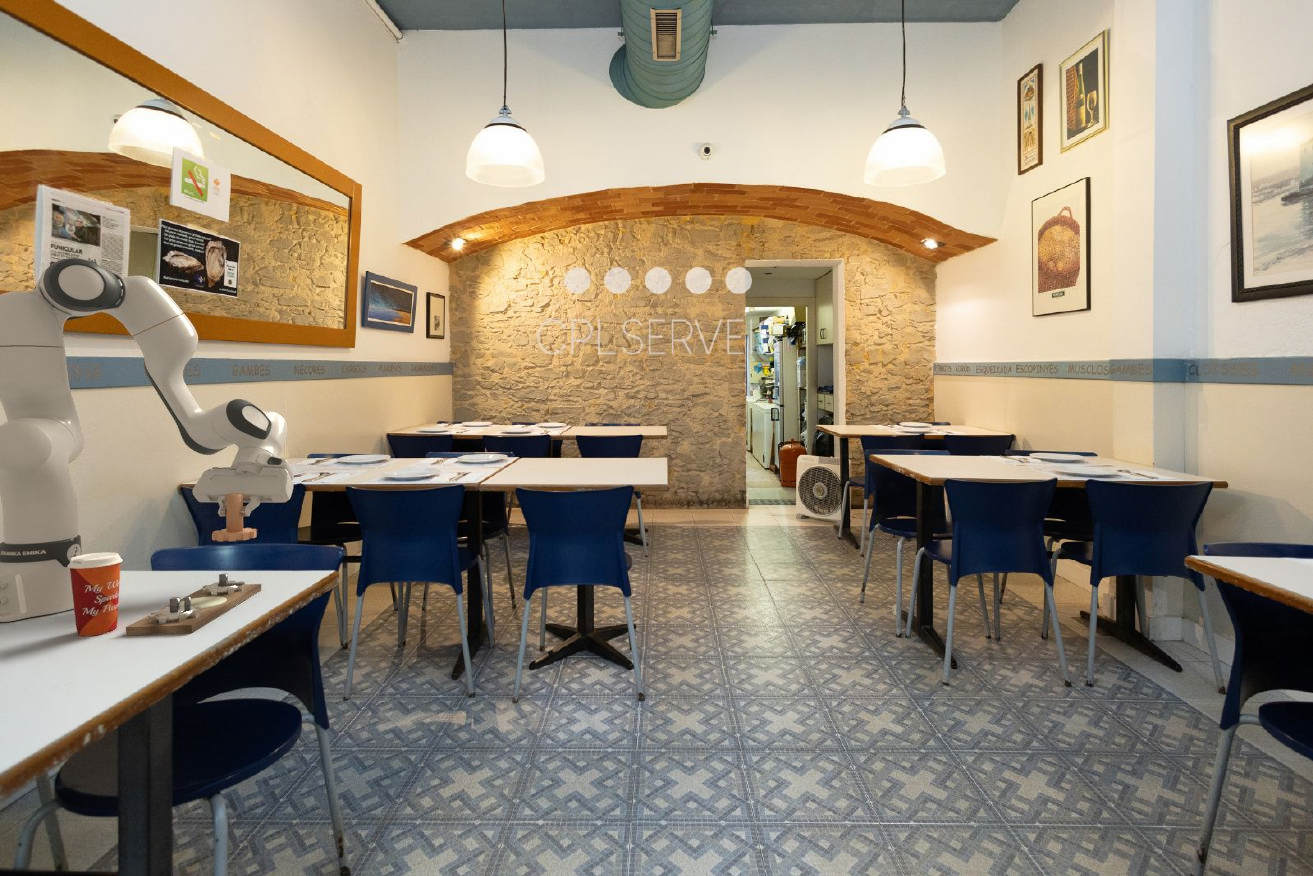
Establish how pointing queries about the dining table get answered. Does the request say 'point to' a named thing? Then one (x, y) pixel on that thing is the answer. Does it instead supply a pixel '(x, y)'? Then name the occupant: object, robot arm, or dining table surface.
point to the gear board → (208, 612)
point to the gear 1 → (175, 612)
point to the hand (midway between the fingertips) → (233, 514)
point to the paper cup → (95, 592)
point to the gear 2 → (223, 586)
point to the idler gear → (234, 521)
